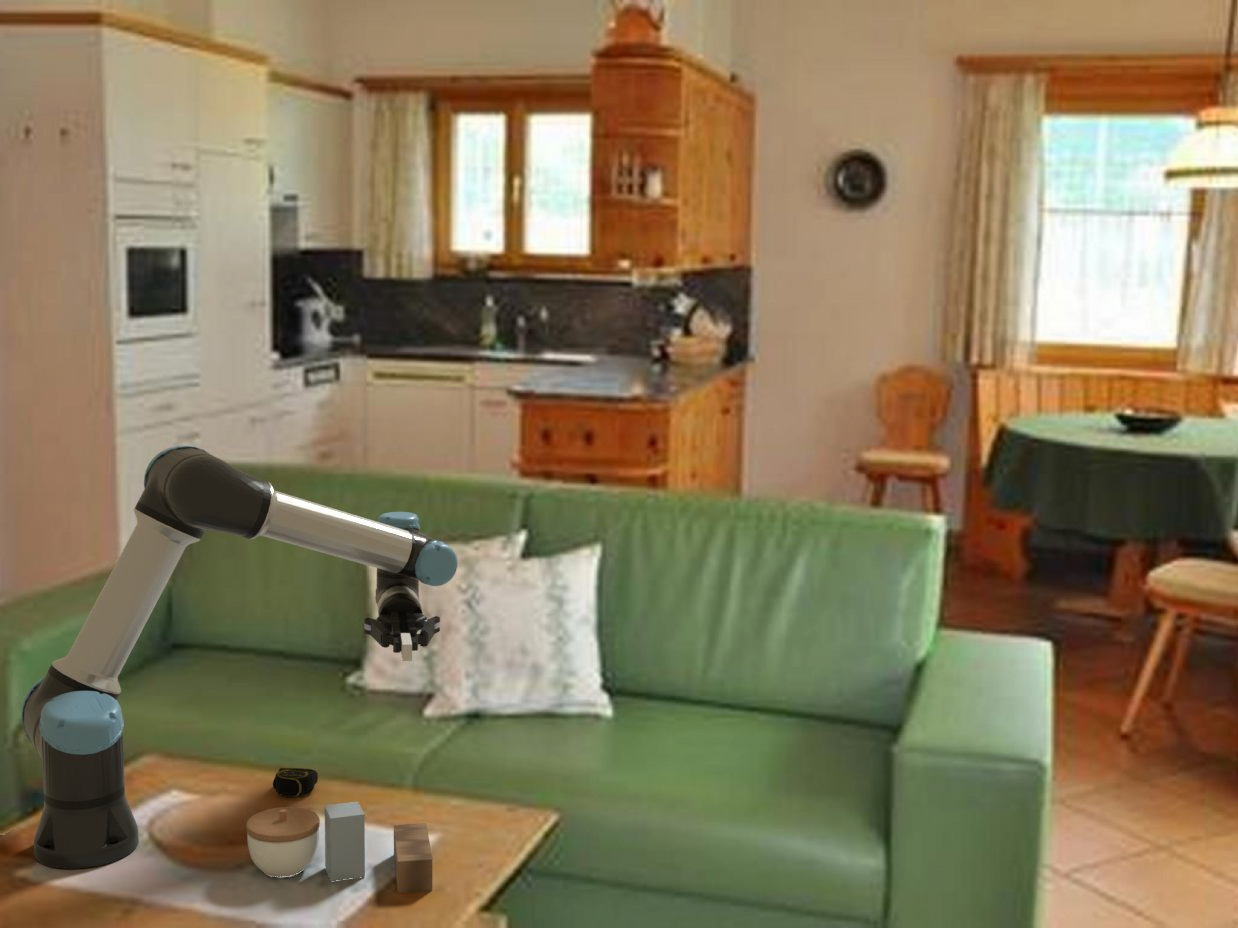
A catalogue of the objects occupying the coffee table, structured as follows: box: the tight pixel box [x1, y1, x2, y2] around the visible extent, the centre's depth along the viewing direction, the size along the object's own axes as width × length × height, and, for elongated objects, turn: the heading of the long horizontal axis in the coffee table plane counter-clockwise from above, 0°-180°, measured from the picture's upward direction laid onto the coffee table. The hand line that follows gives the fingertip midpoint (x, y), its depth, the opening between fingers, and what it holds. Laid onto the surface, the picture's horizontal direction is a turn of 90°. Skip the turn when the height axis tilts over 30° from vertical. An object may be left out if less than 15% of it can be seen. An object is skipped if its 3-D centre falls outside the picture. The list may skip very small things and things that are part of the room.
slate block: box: [324, 800, 366, 882], centre depth 211 cm, size 5×5×10 cm
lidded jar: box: [245, 806, 321, 878], centre depth 212 cm, size 11×11×9 cm
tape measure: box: [272, 767, 319, 798], centre depth 241 cm, size 7×7×4 cm
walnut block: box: [393, 822, 433, 894], centre depth 212 cm, size 5×5×13 cm
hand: (407, 652), depth 222 cm, fingers closed
